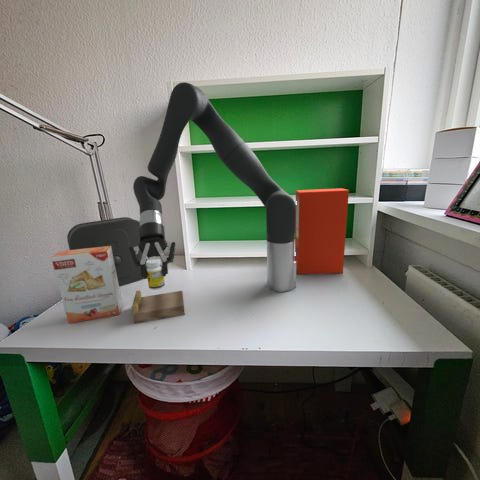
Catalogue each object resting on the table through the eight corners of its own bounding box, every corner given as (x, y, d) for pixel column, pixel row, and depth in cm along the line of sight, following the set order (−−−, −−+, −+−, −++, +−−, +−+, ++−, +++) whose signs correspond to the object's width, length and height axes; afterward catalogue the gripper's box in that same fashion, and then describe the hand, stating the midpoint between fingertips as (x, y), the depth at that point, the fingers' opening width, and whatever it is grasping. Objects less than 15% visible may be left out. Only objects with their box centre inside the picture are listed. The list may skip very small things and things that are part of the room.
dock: (183, 298, 84) (181, 284, 82) (184, 314, 74) (182, 298, 73) (139, 306, 80) (136, 291, 79) (134, 323, 71) (131, 306, 69)
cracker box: (67, 325, 72) (49, 256, 66) (75, 314, 78) (58, 250, 72) (120, 315, 75) (106, 250, 70) (123, 305, 81) (111, 244, 75)
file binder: (343, 273, 97) (348, 189, 88) (298, 274, 98) (299, 192, 89) (336, 265, 104) (340, 188, 96) (294, 267, 105) (295, 190, 97)
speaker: (146, 271, 108) (137, 215, 101) (153, 277, 102) (144, 217, 95) (79, 291, 93) (63, 225, 86) (83, 299, 87) (66, 229, 80)
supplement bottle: (148, 284, 77) (144, 259, 74) (164, 281, 78) (161, 256, 76) (149, 291, 72) (144, 264, 70) (165, 288, 74) (162, 261, 71)
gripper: (125, 223, 75) (125, 275, 67) (174, 219, 79) (179, 268, 71) (130, 235, 82) (131, 285, 74) (175, 231, 85) (180, 277, 77)
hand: (154, 276), depth 72 cm, fingers closed on supplement bottle, 4 cm apart
